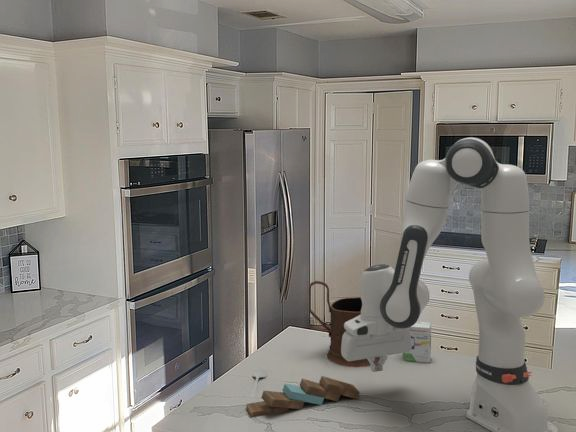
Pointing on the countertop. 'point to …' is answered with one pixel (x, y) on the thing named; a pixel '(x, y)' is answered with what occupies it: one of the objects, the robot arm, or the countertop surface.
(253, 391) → the spoon
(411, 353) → the ink box
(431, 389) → the countertop surface
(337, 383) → the domino
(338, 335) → the brown pitcher
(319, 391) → the domino
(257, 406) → the domino
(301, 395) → the domino
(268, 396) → the domino
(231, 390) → the countertop surface
